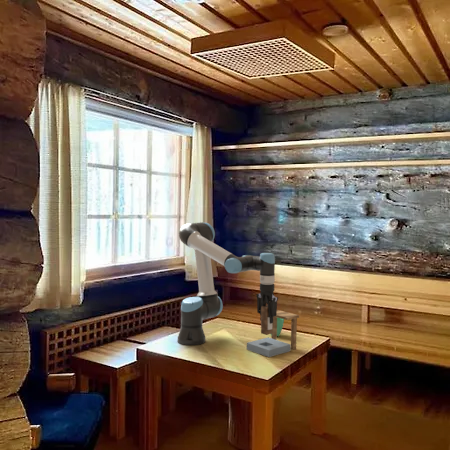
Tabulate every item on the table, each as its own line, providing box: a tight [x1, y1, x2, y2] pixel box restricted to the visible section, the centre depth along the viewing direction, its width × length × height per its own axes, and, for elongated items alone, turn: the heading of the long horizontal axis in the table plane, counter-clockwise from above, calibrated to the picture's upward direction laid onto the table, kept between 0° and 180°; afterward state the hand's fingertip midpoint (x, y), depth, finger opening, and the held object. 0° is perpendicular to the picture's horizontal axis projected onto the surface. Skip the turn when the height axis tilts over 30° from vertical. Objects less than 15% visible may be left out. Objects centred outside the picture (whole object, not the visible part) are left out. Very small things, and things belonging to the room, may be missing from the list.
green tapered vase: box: [270, 318, 285, 337], centre depth 287 cm, size 15×10×10 cm
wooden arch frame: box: [270, 309, 300, 351], centre depth 262 cm, size 18×9×18 cm, turn 41°
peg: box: [260, 304, 272, 336], centre depth 255 cm, size 4×4×14 cm
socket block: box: [246, 337, 291, 358], centre depth 257 cm, size 16×16×4 cm
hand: (266, 328), depth 255 cm, fingers closed on peg, 4 cm apart
